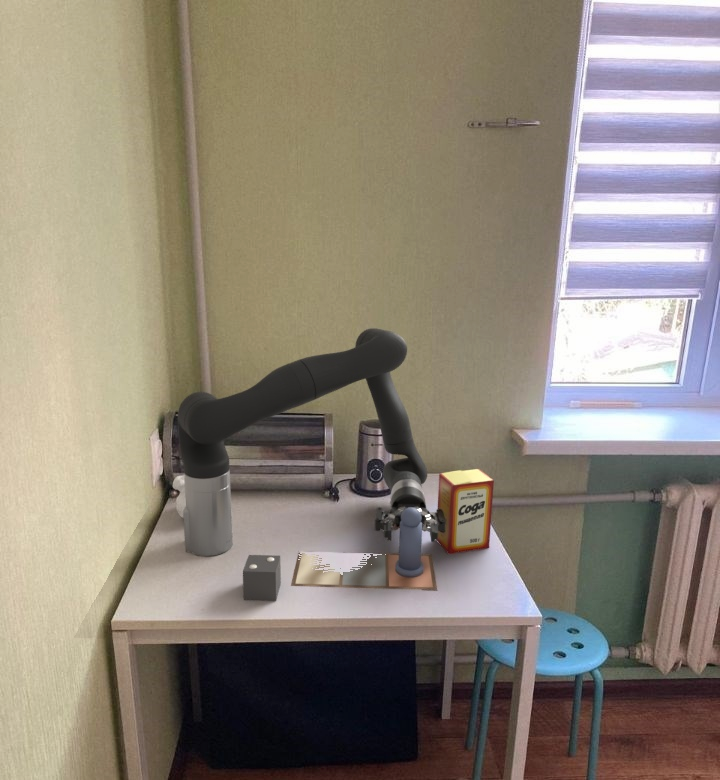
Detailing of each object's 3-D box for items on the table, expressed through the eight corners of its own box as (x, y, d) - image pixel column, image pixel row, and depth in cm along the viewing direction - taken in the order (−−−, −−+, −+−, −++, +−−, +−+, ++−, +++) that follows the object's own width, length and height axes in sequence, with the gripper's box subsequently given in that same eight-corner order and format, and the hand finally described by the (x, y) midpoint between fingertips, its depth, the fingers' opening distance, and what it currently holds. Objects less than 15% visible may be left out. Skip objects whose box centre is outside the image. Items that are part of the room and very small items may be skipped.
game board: (290, 588, 127) (290, 585, 127) (298, 553, 140) (298, 550, 140) (437, 592, 127) (437, 589, 127) (431, 556, 140) (431, 554, 140)
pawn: (395, 577, 131) (397, 514, 127) (395, 562, 136) (396, 501, 133) (424, 578, 131) (427, 514, 127) (422, 563, 136) (425, 502, 132)
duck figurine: (193, 513, 162) (161, 481, 158) (217, 494, 162) (186, 461, 158) (189, 536, 150) (155, 502, 147) (215, 516, 150) (181, 481, 147)
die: (243, 600, 122) (242, 570, 121) (249, 582, 128) (248, 554, 127) (276, 601, 122) (275, 571, 121) (280, 583, 128) (280, 555, 126)
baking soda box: (474, 534, 149) (479, 467, 145) (489, 547, 143) (494, 478, 139) (436, 539, 146) (439, 471, 142) (448, 554, 140) (452, 483, 136)
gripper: (375, 484, 144) (375, 518, 128) (441, 486, 144) (449, 520, 128) (374, 516, 146) (374, 553, 130) (439, 518, 146) (447, 555, 130)
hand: (411, 536), depth 129 cm, fingers open, 8 cm apart
